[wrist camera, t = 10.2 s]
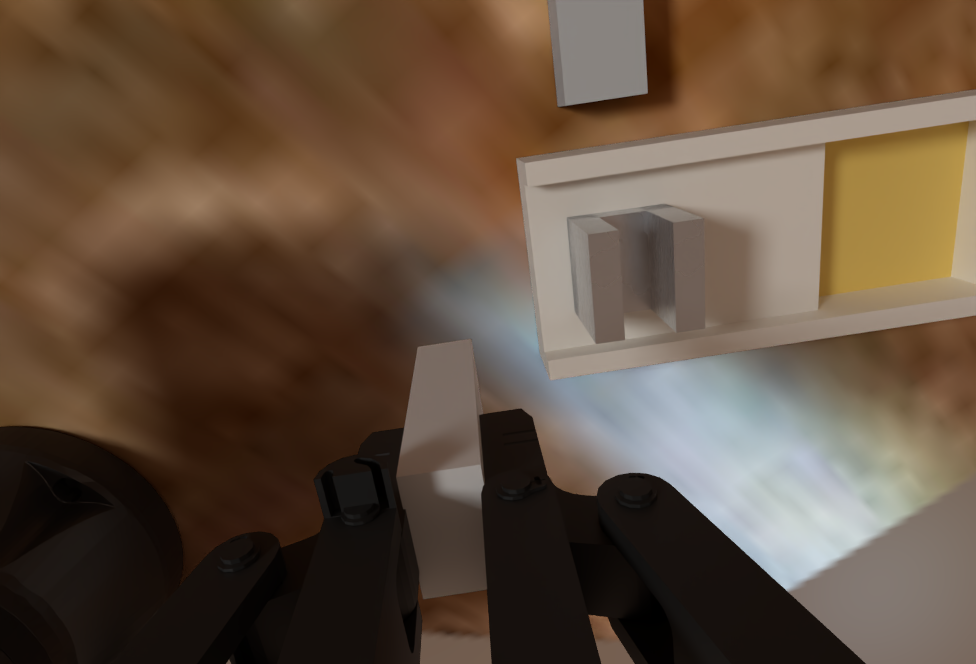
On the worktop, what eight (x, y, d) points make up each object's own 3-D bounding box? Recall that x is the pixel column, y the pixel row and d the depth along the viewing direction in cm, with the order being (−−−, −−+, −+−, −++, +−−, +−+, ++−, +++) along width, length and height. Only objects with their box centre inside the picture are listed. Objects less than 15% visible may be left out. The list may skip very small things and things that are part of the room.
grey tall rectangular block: (557, 106, 28) (565, 105, 26) (538, -95, 25) (545, -113, 23) (634, 95, 28) (647, 93, 26) (623, -108, 25) (637, -126, 23)
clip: (574, 311, 29) (595, 344, 24) (566, 217, 27) (587, 234, 23) (667, 298, 29) (705, 328, 24) (664, 203, 27) (704, 218, 23)
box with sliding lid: (539, 352, 32) (550, 380, 28) (516, 158, 29) (524, 163, 25) (958, 289, 32) (1018, 308, 29) (983, 88, 29) (1054, 83, 25)
